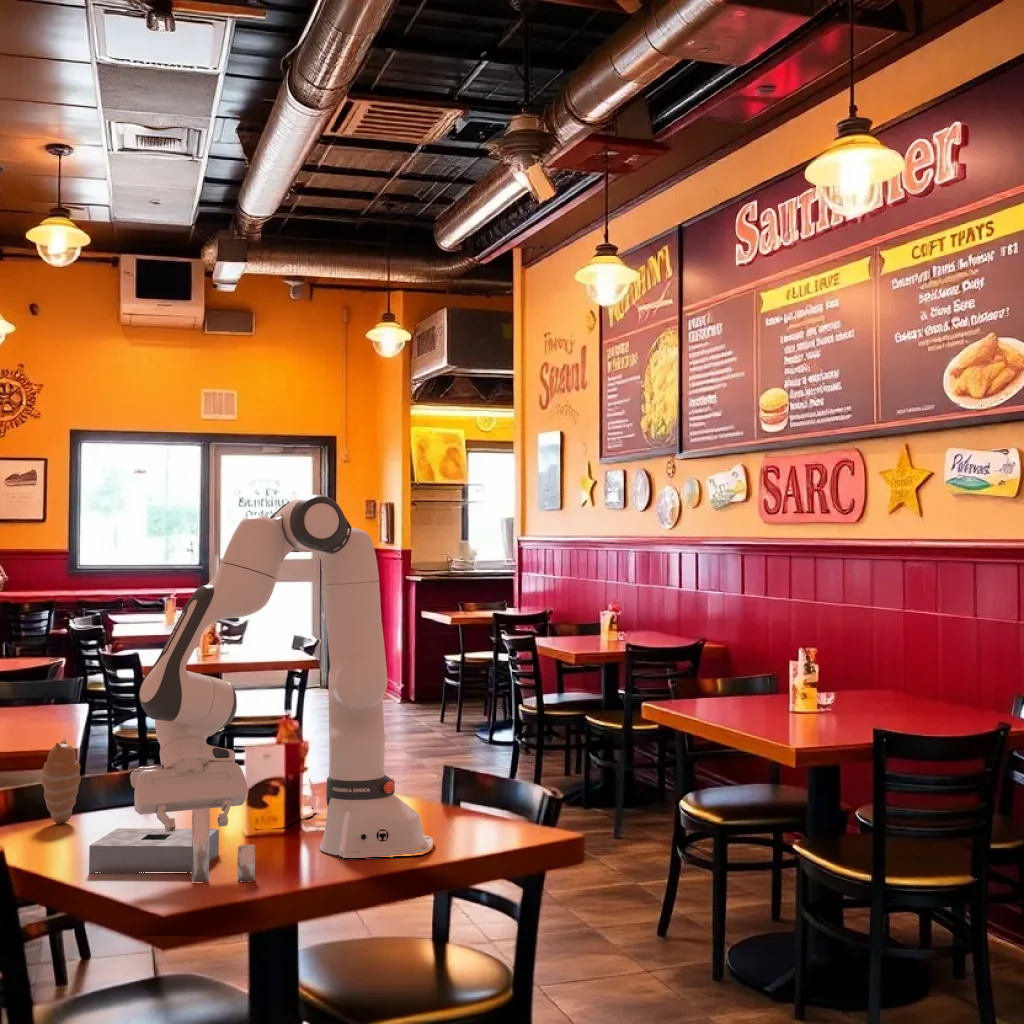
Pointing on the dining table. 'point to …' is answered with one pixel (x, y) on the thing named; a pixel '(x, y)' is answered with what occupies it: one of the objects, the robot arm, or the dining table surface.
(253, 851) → the short pin
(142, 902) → the dining table surface
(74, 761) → the cat ice cream
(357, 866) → the dining table surface
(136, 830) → the grey peg hole block
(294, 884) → the dining table surface
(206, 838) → the tall pin
